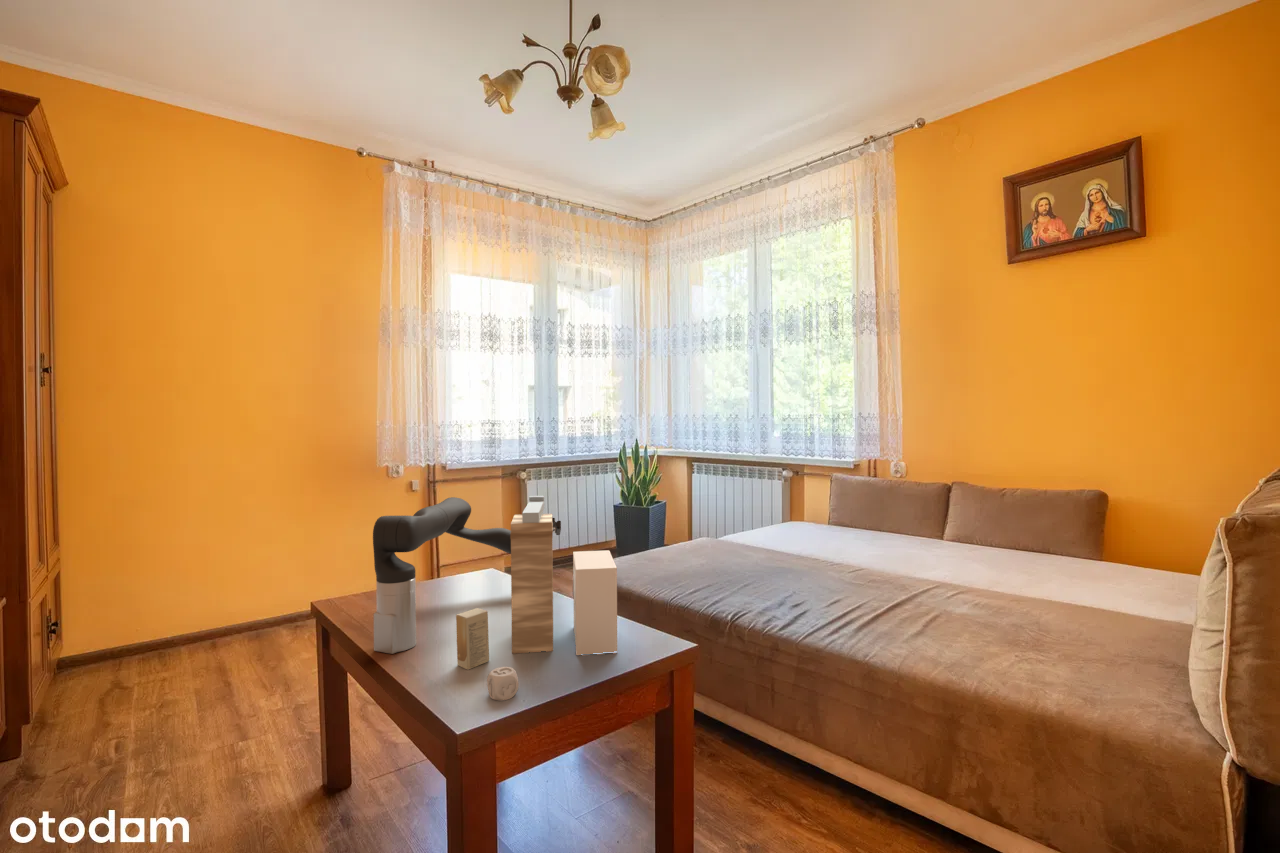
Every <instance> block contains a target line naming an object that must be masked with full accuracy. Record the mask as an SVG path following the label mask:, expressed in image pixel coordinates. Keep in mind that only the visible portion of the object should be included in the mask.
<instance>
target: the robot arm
mask: <svg viewBox="0 0 1280 853" xmlns="http://www.w3.org/2000/svg"><path fill="white" fill-rule="evenodd" d="M471 513H472V507H471V505H470V503H469V502H468V501H467V500H465V499H462V498H461V497H455V496H453V497H452V496H451V497H448V498H445V499H443V500H442V501H441V502H439V503H436V504H433V505H430V506H426V507H424V508H421V509H418V510H417V511H416V512H415V513H414V514H413V515H382V516H379V517H378V518H377V519H376V520H375V522H374V525H373V529H372V548H373V558H374V561H373V562H374V563H373V564H374V571H375V572H374V573H375V576H376V582H375V583H376V584H375V586H376V611H375V612H374V613H373V651H375V652H381V653H386V654H391V655H393V654H395V653H399V652H405V651H406V650H407V651H408V650H410V649H412V648H414V647H415V646H416V645H417V603H416V601H417V600H416V590H417V589H416V588H417V587H416V584H417V583H416V566H414V565H413V564H412V563H409V562H406V561H404V560H403V559H401V558H400V557H398V556H397V554H396V553H411V552H413V551H416V550H417V549H418V548H420V547H421V546H423V544H425V543H426V542H428V541H431V540H433V539H436V538H438V537H440V536H442V535H444V534H449V535H452V536H455V537H459V538H462V539H465V540H469V541H471V542H476V543H478V544H479V543H480V544H483V545H487V546H490V547H493V548H496V549H498V550H500V551H502V552H505V553H507V554H509V555H511V539H510V532H511V529H507V528H504V527H492V528H486V529H472V528H469V527H466V524H467V522H468V519H469V517H470V516H471ZM552 522H553V534H555V535H556V536H560V535H561V533H562V532H561V531H562V522H561V520H557V521H556V518H555V517H552Z"/></svg>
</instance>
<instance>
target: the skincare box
mask: <svg viewBox="0 0 1280 853" xmlns="http://www.w3.org/2000/svg"><path fill="white" fill-rule="evenodd" d="M488 613H489V611H488V610H485V609H482V608H480V607H475V608H473V609H468V610H466V611H462V612H460V613H457V614H455V615H456V616H455V617H456V619H455V620H456V623H455V625H456V628H455V629H456V657H457V659H456V662H457V666H459V667H461V668H462V669H465V670H471V669H473V668H476V667H478V666H480V665H483V664H485V663H487V662H489V661H490V647H489V646H490V645H489V614H488Z"/></svg>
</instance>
